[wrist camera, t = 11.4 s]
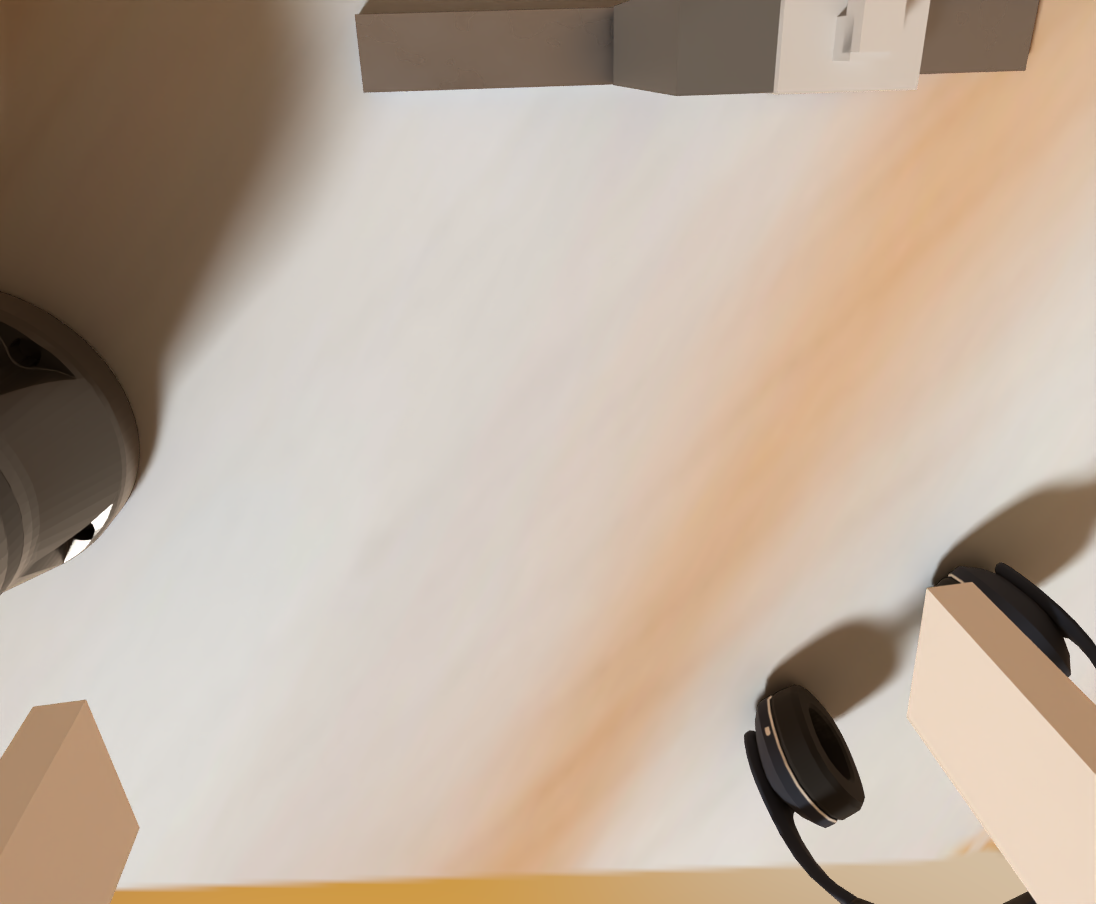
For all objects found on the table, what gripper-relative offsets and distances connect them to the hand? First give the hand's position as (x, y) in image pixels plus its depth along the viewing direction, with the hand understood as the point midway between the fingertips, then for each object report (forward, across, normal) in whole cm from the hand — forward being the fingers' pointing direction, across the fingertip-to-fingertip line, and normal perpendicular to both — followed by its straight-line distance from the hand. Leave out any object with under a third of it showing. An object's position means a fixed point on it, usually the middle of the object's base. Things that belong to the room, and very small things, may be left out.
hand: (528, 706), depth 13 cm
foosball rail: (+30, -11, -9) cm, 34 cm away
